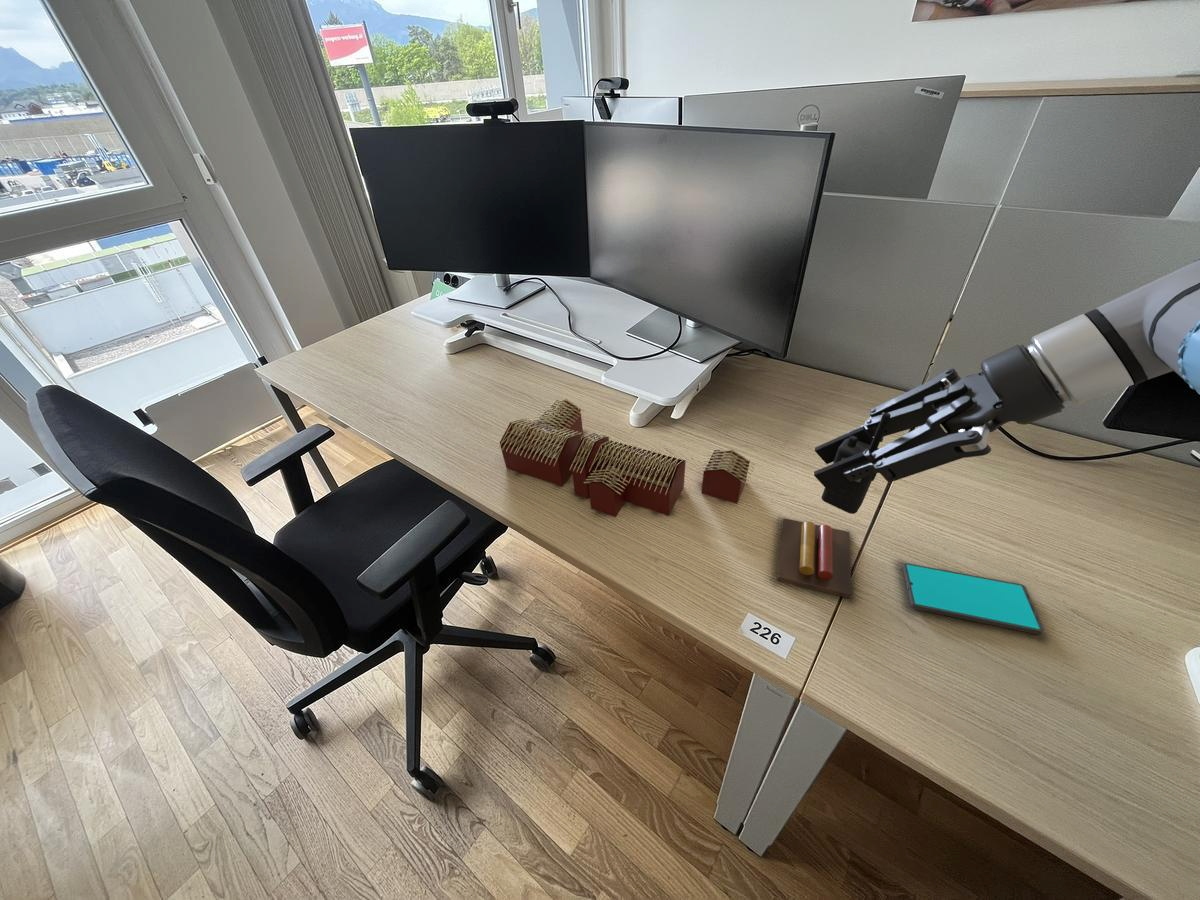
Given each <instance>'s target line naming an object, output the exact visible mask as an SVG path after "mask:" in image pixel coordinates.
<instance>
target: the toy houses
mask: <svg viewBox="0 0 1200 900" xmlns="http://www.w3.org/2000/svg"><path fill="white" fill-rule="evenodd" d="M549 403H550V404H547V406H545V408H544V409H542V411H540V414H538V416H536V417H535V419H533V418H530V417H528V418H521V419H518V420H514V421H510V422H509V424H508V426H507V428H506V429H505V431H504V433H503V435H502V438H501V439H500V441H499V446H498V448H497V449H498V450H500V451H501V453H502V454H501V455H502V458H503V461H504V465H505V468H506V470H510V471H513V472H516V473H519V474H521V475H525V476H528V477H531V478H534V479H537V480H539V481H544V482H547V483H549V484H552V485H556V486H558V487H564V486H565V485H566V483H567V482H568V481H569V479H570V478H571V477H572V482H573V488H574V489H573V490H574V495H575V496H577V497H579V498H580V497H581V498H584V499H586V500H589V504H590V510H592V511H593V510H594V511H597V512H599V513H602V514H605V515H608V516H611V517H614V518H616V517H617V516H618V514H619V513H620V511H621V510H622V508H623V506H624V504H625V503H628V504H630V505H634V506H637V507H640V508H644V509H646V510H649V511H652V512H656V513H659V514H661V515H665V516H668V517H669V516H670V514H671V513H672V511H673V509H674V508H675V505H676V503H677V501H678V499H679V497H680V496H681V494H682V492H683V489H684V487H685V478H686V477H685V475H686V463H687V460H686V457H684V458H683V459H681V456H679V457H676V455H673V456H670V455H671V453H669V454H667V455H666V451H665V452H664V453H661V452H662V451H661V450H659V451H658V452H656V451H657V449H654V450H652V448H649V449H647V446H645V447H644V448H642V445H640V446H639V447H637V446H638V445H637V444H635V445H633V443H630V444H628V441H627V442H624V441H623V440H622V441H619V439H616V440H615V438H611V439H610V435H611V434H608V435H607V433H604V432H600V431H598V432H593V433H591V434H589V435H586V436H584V437H582V435H583V433H584V431H583V430H584V429H583V420H582V419H583V418H582V415H583V413H582V412H585V411H584V410H583V409H582V408H581V407H579V406H578V405H576V404H575V403H573V402H572V401H570V400H569V399H567V398H565V399H560V400H558V399H557V400H555V401H551V402H549ZM614 440H615V441H614ZM618 441H619V442H618ZM623 442H624V443H623ZM548 453H549V454H548ZM547 454H548V455H547ZM552 454H553V455H552ZM551 456H552V457H551ZM556 456H557V458H556V459H555V457H556ZM703 459H704V460H702V463H701V464H700V465H701V466H700V467H699V469H697V472H703V474H702V482H701V492H700V493H701V494H702V495H707V496H710V497H713V498H716V499H720V500H723V501H726V502H730V503H734V504H739V501H740V498H741V495H742V492H743V490H744V487H745V485H746V486H748V485H749V484H748V483H749V482H750V480H749V479H751V478H752V477H751V476H752V475H753V472H754V469H755V467H754V466H756V464H755V463H753V462H752V461H751V459H747V458H746V457H745V456H743V455H742V454H740V453H738V452H737V451H735V450H734V449H724V450H721V449H716V450H715V449H714V450H713V451H707V452H706V455H705V457H704V458H703ZM750 464H751V465H750ZM752 465H753V466H752ZM749 467H750V468H749ZM751 468H752V469H753V470H752V469H751ZM614 471H615V472H614ZM749 471H750V472H749ZM624 472H626V473H625V474H623V473H624ZM751 472H752V473H751ZM618 473H620V475H619V474H618ZM629 473H631V475H629ZM748 474H749V475H751V476H749V475H748ZM634 475H636V476H634ZM633 476H634V477H633ZM639 476H642V477H641V478H639ZM644 478H647V479H646V480H644ZM747 478H748V479H747ZM649 479H652V481H649ZM655 481H657V483H654V482H655ZM660 482H662V485H660V484H659V483H660ZM747 482H748V483H747ZM665 484H668V487H667V486H665Z"/></svg>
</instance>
